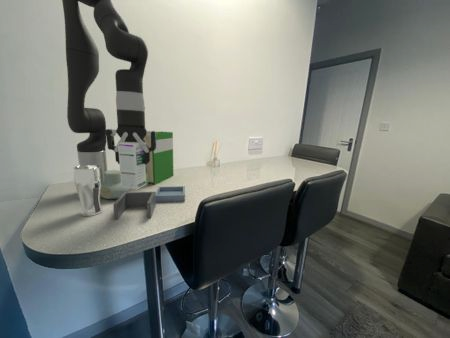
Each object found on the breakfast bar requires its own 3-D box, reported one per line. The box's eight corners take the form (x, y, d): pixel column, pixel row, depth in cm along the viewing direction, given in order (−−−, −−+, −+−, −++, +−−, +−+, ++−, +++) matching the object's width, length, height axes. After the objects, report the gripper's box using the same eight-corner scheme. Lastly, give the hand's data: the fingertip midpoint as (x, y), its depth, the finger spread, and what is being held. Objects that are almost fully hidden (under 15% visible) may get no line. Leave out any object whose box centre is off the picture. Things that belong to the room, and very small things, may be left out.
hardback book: (155, 184, 95) (153, 133, 90) (141, 183, 97) (138, 132, 92) (173, 175, 112) (172, 132, 107) (161, 174, 114) (160, 131, 108)
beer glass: (99, 205, 70) (95, 163, 66) (107, 211, 66) (103, 167, 62) (75, 212, 64) (69, 166, 61) (83, 219, 60) (76, 170, 57)
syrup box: (137, 190, 62) (135, 142, 58) (120, 187, 63) (117, 141, 59) (148, 184, 67) (146, 141, 64) (132, 182, 68) (130, 139, 65)
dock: (114, 219, 61) (113, 204, 60) (124, 205, 71) (123, 192, 70) (151, 217, 63) (150, 203, 62) (155, 204, 73) (155, 191, 72)
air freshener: (94, 197, 76) (91, 172, 74) (112, 191, 84) (111, 168, 82) (116, 202, 73) (114, 176, 71) (133, 195, 81) (132, 171, 78)
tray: (154, 202, 75) (154, 195, 74) (158, 192, 85) (158, 186, 85) (184, 201, 77) (184, 195, 76) (184, 191, 87) (184, 186, 87)
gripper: (98, 106, 54) (103, 166, 58) (154, 110, 57) (155, 166, 61) (109, 108, 62) (113, 160, 65) (157, 111, 64) (158, 161, 68)
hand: (133, 163), depth 63 cm, fingers closed on syrup box, 7 cm apart
